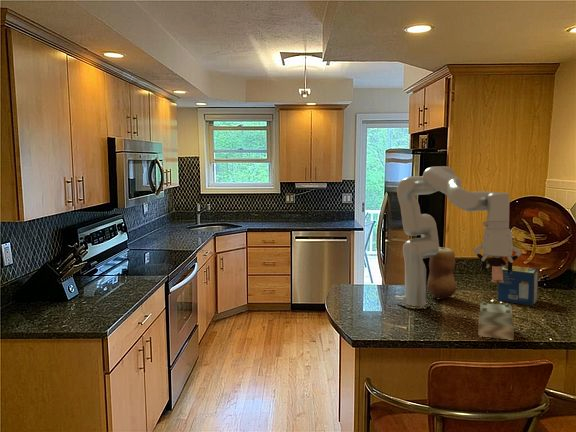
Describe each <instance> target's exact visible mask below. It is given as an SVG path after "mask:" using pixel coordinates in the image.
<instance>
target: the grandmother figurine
mask: <svg viewBox="0 0 576 432" xmlns="http://www.w3.org/2000/svg"><path fill="white" fill-rule="evenodd" d="M503 265H504V267H505V269H508V267H507V265H508V263H507V262H506V261H505V260H504V259H503V258H501V256H493V258H491V259H489V260H488V261H487V262H486V269H489V268H490V267H491V280H490V282H491V283H494V284H498V282H499V283H503V282H504V281H503V271H502V266H503Z"/></svg>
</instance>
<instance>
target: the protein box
mask: <svg viewBox="0 0 576 432" xmlns="http://www.w3.org/2000/svg"><path fill="white" fill-rule="evenodd" d="M507 267H508V264H507ZM502 271H503V281H504V282H503V283H499V282H498V281H497V301H500V302H505V303H512V304H518V305H524V306H531V307H533V306H534V305H535V304H536V303H537V302H538V294H539V293H538V292H539V291H538V289H539V268H538V267H537V268H536V267H525V266H516V265H512V271H510V273H508V269H505V267H504V265H503V264H502Z"/></svg>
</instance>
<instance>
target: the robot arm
mask: <svg viewBox="0 0 576 432" xmlns="http://www.w3.org/2000/svg"><path fill="white" fill-rule="evenodd" d="M462 185H463V182H462V179H461V178H460V177H459V176H457V175H456V172H455V171H454V169H453V168H452V167H450V166H447V165H446V166H445V165H443V166H441V165H440V166H430V167H427V168H426V169H425V170H424V171H423V174H422V175H421V176H420V175H417V176H416V175H415V176H413V175H412V176H407V177H404V178H402V179H401V180H400V181H399V183H398V184H397V189H396V194H397V195H396V196H397V200H398V202H399V203H398V204H399V206H400V214H401V223H402V229H403V232H404V234H406V235H407V236H412V237H413V236H414V237H415V236H420V237H416V238H410V239H408V240H406V241H405V242H404V243H403V245H402V256H403V259H404V295H401V296H400V295H395V297H394V298H395V300H396V301H397V302H401V303H402V302H403V303H406V304H408V305H412V306H424V305H426V302H427V266H426V264H425V262H424V260H423V259H428V258H429V259H430V257H433V256H435V255H437V253H438V251H439V247H440V243H439V242H440V240H439V235H438V234H439V232H438V228H437V222H436V220H435V218H434V217H433V216H432V215H430V214H428V213H422V212H421V207H420V204H419V201H418V200H417V198H416V197H415V196H419V195H420V196H421V195H423V196H424V195H431V194H433V193H436V192H441V193H442V194H443V195H446V198H447V200H448V201H449V202H450V203H451V204H452V205H454V206H455V207H457V208H459V209H461V210H463V211H466V212H468V213H469V212H471V213H472V212H473V213H474V212H482V211H483V212H484V211H487V212H486V221H483V222H482V226H484V227H485V228H484V231H483V237H482V244H480V245H478V246H477V247H475V248H474V249H473V253H474V254H475V255H476V256H477V258H479V259H480V260H481V269H482V270H483V272H487V268H486V266H487V260H486V259H487V258H488V257H494V256H500V257H506V258H507V260H508V261H507V265H508V273H510V271H512V266H513V263H514V262H515V261H516V260H517V259H518V258H520V256H521V255H522V253H523V252H522V250H520V249H518V247H516V246H515V245H513V233H512V230H511V229H510V201H511V198H510V194H509V193H508V192H492V191H488V190H487V191H486V190H483V191H482V190H481V191H480V190H478V191H468V190H466V189H465V188H463V187H462ZM481 250H482V254H481V253H480V252H479V251H481ZM513 251H514V252H515V254H514V255H513ZM512 255H513V256H512Z"/></svg>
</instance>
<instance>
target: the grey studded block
mask: <svg viewBox="0 0 576 432" xmlns="http://www.w3.org/2000/svg"><path fill="white" fill-rule="evenodd" d="M513 314H514V313H513V309H512V305H511V304H509V303H504V304H496V303H487V302H486V301H482V302H480V303H479V314H478V317H477V318H478V323H477V324H478V325H477V326H478V327H477V330H478V331H477V333H478V335H481V336H487V337H494V338H501V339H508V340H514V341H515V339H514V338H515V326H514V321H513V320H514V318H513V316H514V315H513ZM478 335H477V336H478ZM508 340H507V341H508Z"/></svg>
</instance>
